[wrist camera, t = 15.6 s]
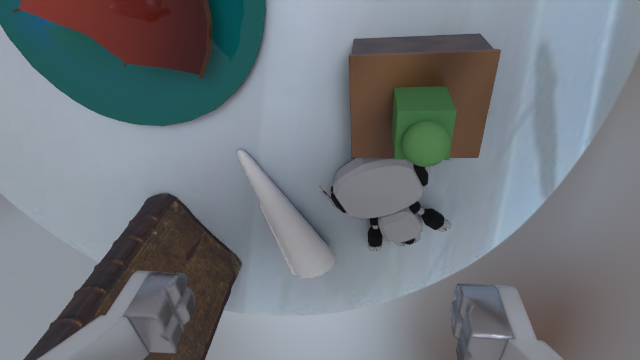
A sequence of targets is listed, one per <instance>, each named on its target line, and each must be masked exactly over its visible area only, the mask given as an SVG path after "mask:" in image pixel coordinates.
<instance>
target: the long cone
mask: <svg viewBox="0 0 640 360" xmlns="http://www.w3.org/2000/svg"><path fill="white" fill-rule="evenodd" d="M237 155H238V158H239V161H240V163H241V166H242V168H243V170H244V172H245V173H246V175H247V177H248V179H249V181H250V183H251V185H252V187H253V189H254V191H255V193H256V195H257V197H258V199H259V202H260V208H261V210H262V213H263V215H264V217H265V219H266V221H267V223H268V225H269V227H270V229H271V231H272V233H273V235H274V237H275V239H276V241H277V243H278V246H279V248H280V250H281V252H282V254H283V256H284V258H285V260H286V262H287V264H288V266H289V268H290V270H291V272H292V274H296V275H297V276H299V277H301V278H304V279H311V278H316V277H319V276H321V275H323V274H325V273H326V272H328V271H329V270H330V269H331V268H332V267H333V266H334V264H335V262H336V255H335V254H334V252H333V251H332V250H331V249H330V248H329V246H328V245H327V244H326V243H325V242H324V241H323V240H322V238H321V237H320V236H319V235H318V234H317V233H316V232H315V230H314V229H313V228H312V227H311V226H310V225H309V223H308V222H307V221H306V220H305V219H304V218H303V216H302V215H301V214H300V213H299V212H298V211H297V209H296V208H295V207H294V206H293V205H292V204H291V202H290V201H289V200H288V199H287V198H286V197H285V196H284V194H283V193H282V192H281V191H280V190H279V189H278V187H277V186H276V185H275V184H274V183H273V182H272V180H271V179H270V178H269V177H268V176H267V175H266V173H265V172H264V171H263V170H262V169H261V168H260V166H259V165H258V164H257V163H256V162H255V161H254V160H253V159H252V158H251V156H250V155H249V154H247V153H246V152H245V151H244V150H242V149H239V150H238V151H237Z"/></svg>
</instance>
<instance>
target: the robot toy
mask: <svg viewBox="0 0 640 360" xmlns="http://www.w3.org/2000/svg"><path fill="white" fill-rule="evenodd" d="M427 171H430V169H429V167H421V166H417V165H415V164H413V163H412V162H410V161H409V160H408V159H395V158H356V159H354V160H352V161H351V162H349V163H347V164H346V165H344V166H343V167H342V168H340V169H339V170H338V171H337V173H336V174H335V176H334V181H333V186H332V187H331V197H330V196H329V195H328V194H327V193H326V192H325V191H324V190H323V189H322V188H321V187H320V186H317V187H318V190H319V191H321V192H322V193H323V194H324V195H325V196H326V197H327V198H328V199H329V200H330V201H331V203H332V204H333V205H336V207H337V208H339V209H340V210H341V211H342V212H343V213H348V215H349V216H351V217H354V218H359V219H367V218H370V223H371V225H372V226H371V227H370V228H369V231H368V243H369V245H368V247H369V249H370V251H374V248H376V251H380V249H381V247H382V245H381V244H382V235H383V237H384V238H385V239H386V240H388V241H390V242H393V243H394V244H396V245H397V246H405V244H412V243H414V241H415V243H416V242H418V241H419V240H420V233H421V232H422V223H421V218H420V215H421V217H422V219H423V221H424V223H425V224H426V225H427V226H429V227H431V228H432V229H434V230H437V229H438V230H439V231H441V232H445V231H447V228H448V229H450V228H451V223H450V222H449V221H448V220H444V217H443V215H442V214H440V213H438V212H437V211H435V210H434V209H423V208H421V205H420V203H419V202H418V200H419V199H420V198H421V197H422V196H423V194H424V186H425V185H427V184H428V172H427ZM378 225H379V226H378ZM404 242H405V244H404Z"/></svg>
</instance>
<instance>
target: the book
mask: <svg viewBox="0 0 640 360" xmlns="http://www.w3.org/2000/svg"><path fill="white" fill-rule="evenodd" d="M241 264H242V263H241V262H240V260H239V259H238V258H237V257H236V256H235V255H234V254H233V253H232V252H231V251H230V250H229V249H228V248H227V247H226V246H225V245H223V244H222V243H221V242H220V241H219V240H217V239H216V238H215V237H214V236H213V235H212V234H211V233H210V232H209V231H208V230H207V229H206V228H205V227H204V226H203V225H202V224H201V223H200V222H199V221H198V220H197V219H196V218H195V217H194V216H193V215H192V213H191V212H190V211H189V209H188V208H187V207H186V206H185V205H184V204H183V203H182V202H181V201H180V200H178V199H177V198H176V197H174V196H170V195H169V194H160V195H155V196H152V197H150V198H148V199H147V200H146V201H145V203H144V205H143V206H142V208H141V209H140V211H139V212H138V213H137V215H136V216H135V217H134V218H133V219H132V220H131V221H130V222H129V225H128V227H127V228H126V229H125V230H124V232H123V233H122V234H121V236H120V237H119V238H118V239H117V240H116V241H114V243H113V245H112V248H111V249H110V250H109V252H108V253H107V254H106V255H105V257H104V258H103V259H102V260H101V262H100V263H99V264H98V265H96V266H95V268H94V271H93V273H92V274H91V275H90V277H89V278H88V279H87V280H86V282H85V283H84V284H83V285H82V287H81V288H80V289H79V290H77V291H76V292H75V293H74V297H73V298H72V300H71V301H70V302H69V304H68V305H67V306H66V308H65V309H64V310H63V312H62V313H61V314H60V316H59V317H58V318H57V319H56V320H55V321H54V322H52V323H51V324H50V327H49V329H48V330H47V332H46V333H45V334H44V335H43V337H42V338H41V339H40V340H39V342H38V343H37V344H36V345H35V347H34V348H33V349H32V350H31V352H30V353H29V354H28V355H27V356H26V357H25V359H24V360H37V359H38V358H40V357H41V356H43V355H44V354H46V353H47V352H49V351H50V350H51V349H53V348H54V347H56V346H57V345H59V344H60V343H62V342H63V341H64V340H66V339H67V338H69V337H70V336H72V335H73V334H75V333H76V332H78V331H79V330H80V329H82V328H83V327H85V326H86V325H88V324H89V323H91V322H92V321H93V320H95V319H96V318H98V317H99V316H101V315H106V314H107V312H108V311H109V309H110V308H111V306H112V305H113V303H114V302H115V300H116V299H117V297H118V296H119V294H120V293H121V291H122V290H123V288H124V286H125V285H126V283H127V282H128V280H129V279H130V277H131V276H132V274H134V273H135V272H136V271H156V272H171V273H185V274H186V276H187V278H188V280H189V281H188V283H187V286H188V287H190V288H191V289H192V290H193V292H194V294H195V308H194V312H193V315H192V317H191V319H190V320H189V321H188V322H187V323H186V324H185V325H183V329H184V335H183V338H182V340H181V342H180V344H179V347H178V349H177V351H176V353H157V352H149V355H148V356H147V357H146V358H145V359H143V360H205V357H206V355H207V352H208V350H209V347H210V345H211V342H212V339H213V336H214V334H215V331H216V328H217V326H218V323H219V320H220V317H221V315H222V312H223V309H224V307H225V305H226V303H227V301H228V298H229V296H230V293H231V288H232V285H233V283H234V282H235V280H236V278H237V275H238V272H239V270H240V267H241Z"/></svg>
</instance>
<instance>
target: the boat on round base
mask: <svg viewBox="0 0 640 360" xmlns="http://www.w3.org/2000/svg"><path fill="white" fill-rule="evenodd" d="M264 17H265V0H0V24H1V26H2V28H3V29H4V31H5V33H6V34H7V36H8V37H9V39H10V40H11V41H12V42H13V43H14V45H15V46H16V47H17V48H18V50H19V51H20V52H21V53H22V54H23V56H24V57H25V58H26V59H27V61H28V62H29V63H30V64H31V65H32V67H33V68H35V69H36V70H37V71H38V72H39V73H40V74H41V75H43V76H44V77H45V78H46V79H47V80H48V81H49V82H51V83H52V84H53V85H54V86H55V87H56V88H57V89H59V90H60V91H62V92H63V93H65V94H66V95H67V96H69V97H70V98H72V99H73V100H74V101H76V102H78V103H80V104H81V105H83V106H85V107H87V108H88V109H90V110H92V111H94V112H96V113H99V114H101V115H103V116H106V117H109V118H112V119H116V120H119V121H123V122H128V123H133V124H139V125H155V126H166V125H171V124H176V123H181V122H186V121H191V120H193V119H195V118H197V117H199V116H202V115H204V114H206V113H208V112H210V111H212V110H215V109H216V108H217V107H218V106H220V105H221V104H222V103H223V102H224V101H225V100H226V99H227V98H228V97H230V96H231V95H232V94H233V93H234V92H235V91H236V90H237V88H238V87H239V86H240V84H241V83H242V82H243V81H244V79H245V78H246V76H247V74H248V73H249V71H250V69H251V67H252V66H253V64H254V61H255V59H256V57H257V54H258V51H259V47H260V43H261V38H262V34H263V27H264Z"/></svg>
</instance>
